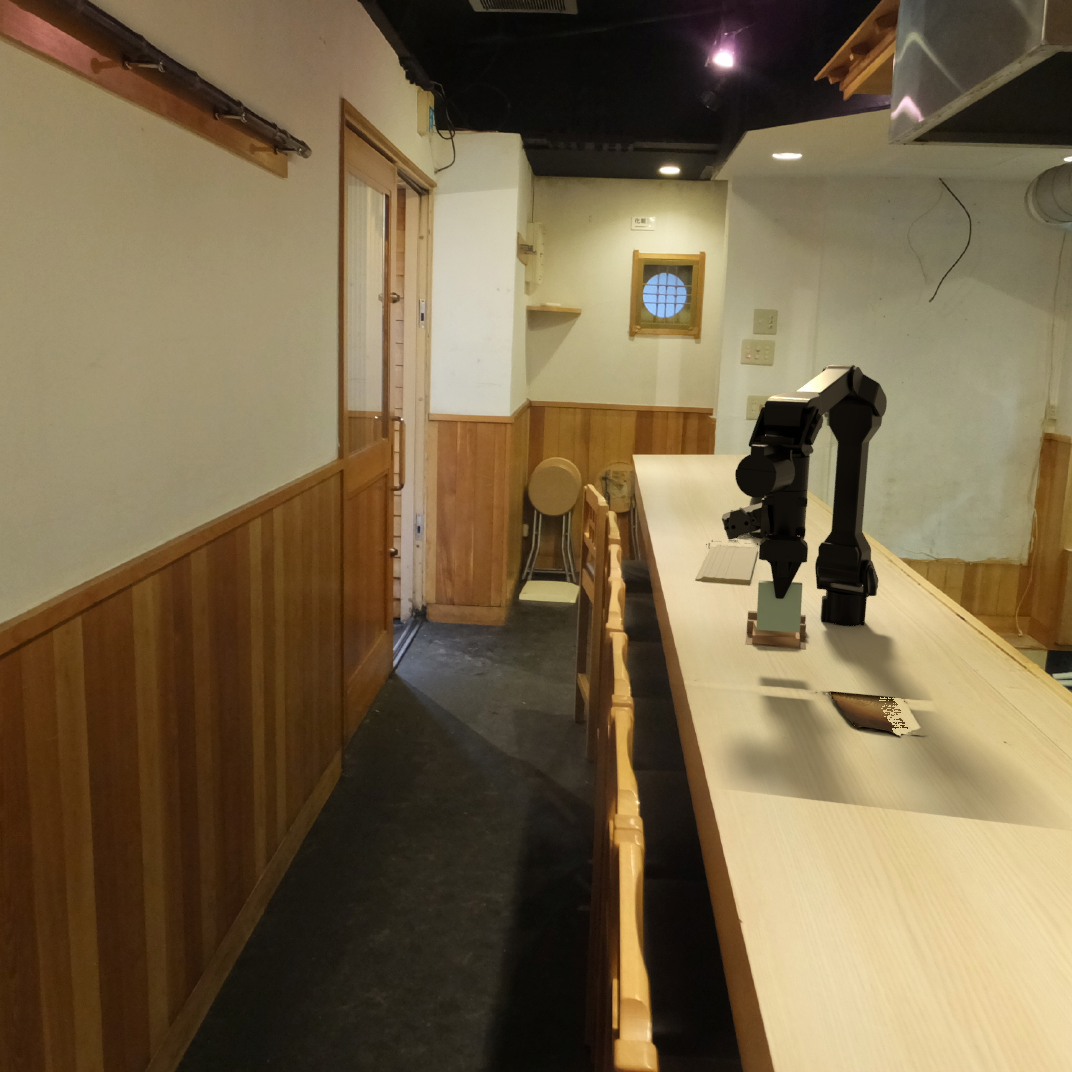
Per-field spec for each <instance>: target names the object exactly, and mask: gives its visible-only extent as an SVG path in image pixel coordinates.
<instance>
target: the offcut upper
mask: <svg viewBox="0 0 1072 1072" xmlns="http://www.w3.org/2000/svg"><path fill="white" fill-rule="evenodd" d="M756 628H757V621H754V622H753V630H754V632H755V635H761V636H785V637H796V632H782V631H768V630H756Z"/></svg>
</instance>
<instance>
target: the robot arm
mask: <svg viewBox="0 0 1072 1072" xmlns="http://www.w3.org/2000/svg"><path fill="white" fill-rule="evenodd" d="M887 402H888V401H887V396H886V393H885V391H884V390H883V388H882V385H881V384H880V383H879V382H878V381H877V380H874V379H873V378H871V377H869V376H868V375H866V374H864V373H863V371H862V369H861V367H859V366H856V365H854V364H829V365H828V366H827V365H826V366H824V367H823V369H822V371H821V372H820V373H819V374H818V375H816V376H815V377H813V379H811V380H810V381H808V382H807V383H806V384H805V385H803V386H802V387H800V388H799V389H797V390H796V391H794V392H784V393H778V394H775V395H772V396H770V397H768V399H767V400H766V401H765V402H764V404H763V405H762V406H761V409H760V411H759V413H758V417H757V419H756V422H755V425H754V428H753V430H752V433H751V436H750V439H749V441H748V447H749V448H750V454H748V455H747V456H744V458H742V459H740V462H738V464H737V468H736V469H735V482H736V485H737V487H738V489H739V490H740V491H741V492H742V493H743V494H744V495H746V496H748V497H750V498H752V497H754V498H758V497H762V503H759V504H756V505H751V506H749V505H748V506H746V507H744V508H742V506H741V507H739V508H738V509H734V510H733V509H731V510H730V511H728V512H726V513H723V515H722V516H721V521H722V524H723V529H724V530H725V534H726V536H727V539H728V541H730V540H736V539H738V538H739V537H740V536H743V535H746V534H749V533H751V532H754V531H757V530H759V529H760V534H761V537H764V538H762V539H761V538H760V540H759V547H758V551H759V552H758V560H761V561H766V562H768V564H769V565H770V568H771V569H770V570H771V576H772V581H773V584H774V591H775V597H776V598H777V599H783V598H784V597H785V595H786V593H787V591H788V589H789V587H790V585H791V583H792V582H794V581H793V580H794V579H795V577H796V575H797V573H798V571H799V569H800V568H801V566H802V564H803V563H808V553H809V546H808V545H809V544H808V542H807V541H806V540H805V537H806V530H807V529H806V519H807V507H808V500H809V499H808V490H809V489H808V487H809V476H810V475H809V474H810V457H811V454H814V448H813V445H814V443H815V441H816V439H817V437H818V434H819V432H820V430H821V429H822V428H823V423H824V415H825V414H826V413H827V414H828V427H829V429H830V431H832V434H833V436H834V438H835V440H836V441H837V451H836V465H835V478H834V491H833V505H832V506H833V508H832V518H831V530H830V533H829V534H828V535H827V537H826V538H825V540H824V541H823V542H821V543H820V544H819V546H818V548H817V549H818V550H817V551H818V553H817V554H818V555H817V557H816V559H815V560H816V561H815V570H814V571H815V579H816V580H815V581H816V589H817V590H824V591H825V595H823V596H822V595H821V596H822V597H821V605H820V622H822V623H826V624H833V625H836V626H842V627H857V626H863V627H864V626H865V624H866V612H867V602H868V601H867V600H868V599H867V598H869V597H876V596H877V591H878V587H879V577H878V574H877V571H876V568H875V564H874V562H873V561H872V547H871V546H870V543H869V542H868V540H867V537H866V536H865V534H864V533H863V526H864V525H863V524H864V512H865V499H866V498H865V497H866V486H867V485H866V484H867V472H868V462H869V461H868V459H869V447H870V441H871V440H872V439H873V438H874V436H875V434H876V433H877V432H878V430H879V429H880V428H881V427H882V422H883V417H884V415H885V413H886V411H887V404H888V403H887ZM765 535H766V536H765Z"/></svg>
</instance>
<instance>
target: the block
mask: <svg viewBox="0 0 1072 1072" xmlns="http://www.w3.org/2000/svg"><path fill="white" fill-rule="evenodd" d="M757 585H758V587H757V589H758V590H757V608H756V611H757V628H756V630H768V631H782V632H797V633H800V621H801V615H802V602H803V601H802V600H803V582H797V581H796V582H795V581H792V583H791V585H790V587H789V589H788V591H787V593H786V595H785V597H784V598H783V599H777V598H776V597H775V591H774V584H773V580H758V584H757Z"/></svg>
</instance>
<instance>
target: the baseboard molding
mask: <svg viewBox="0 0 1072 1072" xmlns="http://www.w3.org/2000/svg"><path fill="white" fill-rule="evenodd" d="M711 542H712V543H713V542H714V540H713V539H712V540H711ZM715 542H720V543H721V541H720V540H718V541H717V540H715ZM729 542H730V543H732V544H735V543H739V540H738V539H730V540H729ZM745 544H747V545H748V544H749V545H750V544H751V543H749V542H748V543H747V542H745ZM756 545H757V546H746V545H745V546H744V545H743V546H742V545H739V546H738V545H727V544H725V545H724V544H723V545H722V544H716V545H714V546H711V543H710V542H709V543H706V544H705V547H706V548H708V549H709V550H708V552H707V554H706V556H705V558H704V560H703V562H702V564H701V567H700V569H699V570H698V572H697V575H696V576H695V578H694V579H695V581H697V582H698V581H701V582H711V583H712V582H713V583H714V582H715V583H725V584H737V585H750V582H751V579H752V574H753V571H754V567H755V563H756V560H757V559H756V558H757V554H758V551H759V547H758V545H759V543H756ZM707 546H708V547H707Z"/></svg>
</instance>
